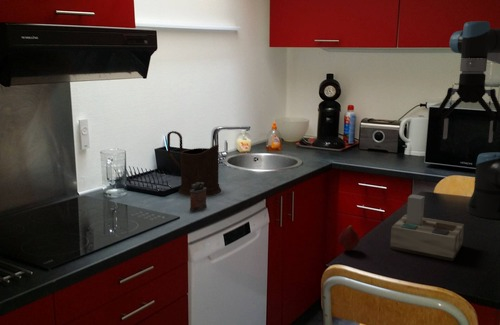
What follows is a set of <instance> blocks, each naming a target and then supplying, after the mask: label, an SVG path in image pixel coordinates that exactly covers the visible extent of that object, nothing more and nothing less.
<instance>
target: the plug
mask: <svg viewBox="0 0 500 325" xmlns="http://www.w3.org/2000/svg"><path fill="white" fill-rule="evenodd" d="M425 198H426V197H425V195H419V194H410V195H409V196H408V197H407V207H406V215H407V220H406V223H408V224H414V225H420V226H422V224H423V218H424V212H425V211H424V208H425Z"/></svg>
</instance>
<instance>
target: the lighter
mask: <svg viewBox="0 0 500 325" xmlns="http://www.w3.org/2000/svg"><path fill="white" fill-rule="evenodd" d="M192 188H194V189H192V190H190V196H189V197H190V199H189V200H190V203H189V205H190V206H189V211H191V212H197V211H200V210H201V211H202V210H205V209H206V208H207V206H208V205H207V196H206V190H207V188H206V187H204V183H203V182H201V183H199V182H197V183H196V184H192Z"/></svg>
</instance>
